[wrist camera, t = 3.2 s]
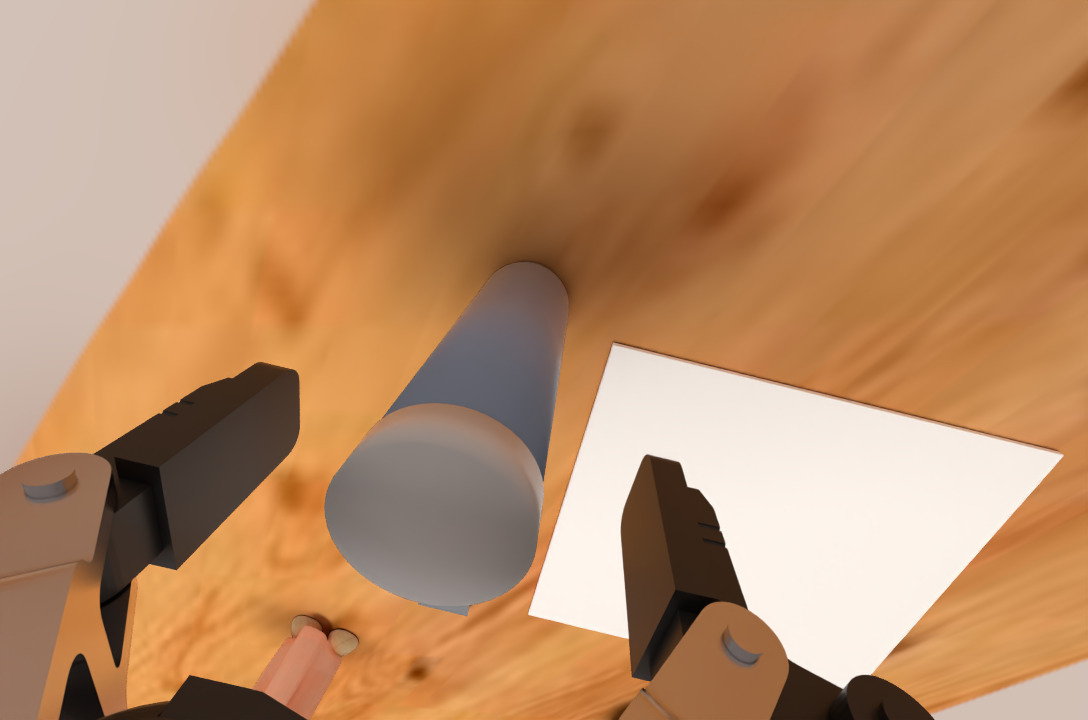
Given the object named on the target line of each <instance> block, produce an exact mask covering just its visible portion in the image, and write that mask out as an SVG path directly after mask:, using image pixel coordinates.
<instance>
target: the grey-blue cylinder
mask: <svg viewBox="0 0 1088 720" xmlns="http://www.w3.org/2000/svg"><path fill="white" fill-rule="evenodd" d="M568 315H569V299H568V294H567V292H566V289H565V287H564V285H563V284H562V282H561V281H560V279H559V278H558V276H557V275H556V274H555V273H554V272H553V271H552V270H551V269H549V268H548V267H546V266H544V265H542V264H540V263H536V262H531V261H523V262H517V263H512V264H509V265H506V266H504V267H502V268H500V269H499V270H497V271H496V272H495V273H494V274H493V275H492V276H491V277H490V278H489V279H488V281H487V282H486V283H485V285H484V286H483V287H482V289H481V290H480V291H479V293H478V294H477V295H476V296H475V298H474V299H473V300H472V302H471V303H470V304H469V306H468V307H467V308H466V309H465V311H464V312H463V313H462V315H461V316H460V317H459V319H458V320H457V321H456V323H455V324H454V325H453V326H452V328H451V329H450V330H449V332H448V333H447V334H446V336H445V337H444V338H443V340H442V341H441V342H440V343H439V345H438V346H437V347H436V349H435V350H434V351H433V353H432V354H431V355H430V357H429V358H428V359H427V360H426V362H425V363H424V364H423V366H422V367H421V368H420V370H419V371H418V372H417V373H416V375H415V376H414V377H413V379H412V380H411V381H410V383H409V384H408V385H407V387H406V388H405V389H404V390H403V392H402V393H401V394H400V396H399V397H398V398H397V400H396V401H395V402H394V404H393V405H392V406H391V407H390V409H389V410H388V411H387V413H386V414H385V415H384V417H383V418H382V419H381V420H379V421H378V422H377V423H376V424H375V425H374V426H373V427H372V428H371V429H370V430H369V432H368V433H367V434H366V436H365V437H364V438H363V439H362V441H361V442H360V443H359V445H358V446H357V447H356V448H355V450H354V451H353V452H352V454H351V455H350V456H349V457H348V459H347V460H346V461H345V463H344V464H343V465H342V466H341V468H340V469H339V470H338V472H337V473H336V474H335V476H334V477H333V479H332V481H331V483H330V485H329V487H328V490H327V493H326V498H325V518H326V523H327V527H328V530H329V532H330V535H331V538H332V540H333V541H334V543H335V545H336V547H337V548H338V550H339V551H340V553H341V554H342V555H343V557H344V558H345V559H346V560H347V561H348V562H349V563H350V565H351V566H352V567H353V568H355V569H356V570H357V571H358V572H359V573H360V574H361V575H363V576H364V577H365V578H367V579H368V580H369V581H371V582H372V583H374V584H376V585H377V586H379V587H381V588H382V589H384V590H386V591H388V592H390V593H392V594H395V595H397V596H400V597H402V598H405V599H408V600H412V601H415V602H419V603H424V604H429V605H436V606H468V605H473V604H479V603H482V602H486V601H489V600H492V599H494V598H496V597H499V596H501V595H503V594H504V593H506V592H508V591H509V590H511V589H512V588H513V587H514V586H516V585H517V584H518V583H519V582H520V581H521V580H522V579H523V577H524V576H525V575H526V573H527V572H528V570H529V569H530V567H531V565H532V562H533V560H534V557H535V552H536V547H537V540H538V533H539V526H540V519H541V512H542V505H543V496H544V487H543V481H544V474H545V468H546V461H547V454H548V448H549V441H550V434H551V428H552V421H553V415H554V408H555V401H556V395H557V388H558V381H559V375H560V368H561V362H562V355H563V348H564V342H565V335H566V328H567V322H568Z"/></svg>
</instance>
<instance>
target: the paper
mask: <svg viewBox="0 0 1088 720" xmlns="http://www.w3.org/2000/svg"><path fill="white" fill-rule="evenodd" d="M647 454H648V455H652V456H657V457H661V458H665V459H669V460H674V461H678V462H680V464H681V466H682V469H683V473H684V476H685V480H686V483H687V487H690V488H695V489H699V490H700V491H701V493H702V494H703V495H704V497H705V498H706V499H707V500H708V502H709V503H710V504H711V505H712V507H713V508H714V511H715V513H716V516H717V519H718V522H719V525H720V531H722V534H723V537H724V540H725V543H726V545H725V548H727V549H728V552H729V555H730V558H731V560H732V563H733V566H734V569H735V572H736V575H737V578H738V581H739V584H740V587H741V590H742V593H743V596H744V599H745V602H746V605H747V608H748V610H749V611H751V612H752V613H754V614H755V615H757V616H758V617H759V618H760V619H762V620H763V621H764V622H765V623H766V624H767V625H768V626H769V627H770V628H771V629H772V631H773V632H774V633H775V634H776V636H777V637H778V639H779V640H780V642H781V643H782V645H783V647H784V649H785V652H786V655H787V658H788V659H789V660H791V661H792V662H794V663H796V664H797V665H799V666H801V667H803V668H804V669H806V670H808V671H810V672H812V673H814V674H816V675H818V676H820V677H821V678H823V679H825V680H827V681H829V682H831V683H833V684H835V685H837V686H838V687H840V688H842V689H844V687H845V686H846V685H847V684H848V683H849V681H850V680H851V679H852V678H854V677H855V676H859V675H871V674H872V673H873V672H874V670H875V669H876V668H877V667H878V666H879V665H880V664H881V662H882V661H883V660H884V659H885V658H886V657H887V656H888V654H889V653H890V652H891V651H892V650H893V649H894V648H895V647H896V645H897V644H898V643H899V642H900V641H901V640H902V639H903V637H904V636H905V635H906V634H907V633H908V632H909V631H910V630H911V628H912V627H913V626H914V625H915V624H916V623H917V622H918V620H919V619H920V618H921V617H922V616H923V615H924V614H925V612H926V611H927V610H928V609H929V608H930V607H931V606H932V605H933V603H934V602H935V601H936V600H937V599H938V598H939V597H940V595H941V594H942V593H943V592H944V591H945V590H946V589H947V588H948V586H949V585H950V584H951V583H952V582H953V581H954V580H955V578H956V577H957V576H958V575H959V574H960V573H961V572H962V571H963V569H964V568H965V567H966V566H967V565H968V564H969V563H970V561H971V560H972V559H973V558H974V557H975V556H976V555H977V553H978V552H979V551H980V550H981V549H982V548H983V547H984V546H985V544H986V543H987V542H988V541H989V540H990V539H991V538H992V536H993V535H994V534H995V533H996V532H997V531H998V530H999V529H1000V527H1001V526H1002V525H1003V524H1004V523H1005V522H1006V521H1007V519H1008V518H1009V517H1010V516H1011V515H1012V514H1013V513H1014V512H1015V510H1016V509H1017V508H1018V507H1019V506H1020V505H1021V504H1022V502H1023V501H1024V500H1025V499H1026V498H1027V497H1028V496H1029V494H1030V493H1031V492H1032V491H1033V490H1034V489H1035V488H1036V487H1037V485H1038V484H1039V483H1040V482H1041V481H1042V480H1043V479H1044V477H1045V476H1046V475H1047V474H1048V473H1049V472H1050V471H1051V470H1052V468H1053V467H1054V466H1055V465H1056V464H1057V463H1058V462H1059V460H1060V459H1061V458H1062V457H1063V456H1064V455H1062V454H1061V453H1060V452H1058V451H1054V450H1050V449H1046V448H1042V447H1038V446H1034V445H1030V444H1026V443H1022V442H1018V441H1014V440H1010V439H1006V438H1001V437H997V436H993V435H989V434H985V433H981V432H977V431H973V430H969V429H965V428H961V427H957V426H952V425H948V424H944V423H940V422H936V421H932V420H928V419H924V418H920V417H916V416H912V415H908V414H903V413H899V412H895V411H891V410H887V409H883V408H879V407H875V406H871V405H867V404H863V403H859V402H855V401H850V400H846V399H842V398H838V397H834V396H830V395H826V394H822V393H818V392H814V391H810V390H806V389H801V388H797V387H793V386H789V385H785V384H781V383H777V382H773V381H769V380H765V379H761V378H757V377H753V376H748V375H744V374H740V373H736V372H732V371H728V370H724V369H720V368H716V367H712V366H708V365H704V364H699V363H695V362H691V361H687V360H683V359H679V358H675V357H671V356H667V355H663V354H659V353H655V352H651V351H646V350H642V349H638V348H634V347H630V346H626V345H622V344H618V343H614V342H613V344H612V347H611V350H610V353H609V356H608V360H607V363H606V366H605V369H604V372H603V376H602V379H601V382H600V385H599V388H598V391H597V395H596V398H595V401H594V404H593V407H592V411H591V414H590V417H589V420H588V423H587V426H586V430H585V433H584V436H583V439H582V442H581V446H580V449H579V452H578V455H577V458H576V461H575V465H574V468H573V471H572V474H571V477H570V481H569V484H568V487H567V490H566V493H565V497H564V500H563V503H562V506H561V509H560V512H559V516H558V519H557V522H556V525H555V528H554V532H553V535H552V538H551V541H550V544H549V547H548V551H547V554H546V557H545V560H544V563H543V567H542V570H541V573H540V576H539V579H538V582H537V586H536V589H535V592H534V595H533V598H532V602H531V605H530V608H529V612H528V615H532V616H536V617H540V618H544V619H548V620H552V621H556V622H561V623H565V624H569V625H573V626H577V627H581V628H585V629H590V630H594V631H598V632H602V633H606V634H610V635H614V636H619V637H623V638H627V639H629V633H628V621H627V608H626V596H625V583H624V570H623V558H622V545H621V519H622V513H623V509H624V506H625V503H626V500H627V498H628V495H629V493H630V490H631V487H632V485H633V482H634V480H635V477H636V474H637V472H638V469H639V467H640V464H641V462H642V459H643V458H644V456H645V455H647Z"/></svg>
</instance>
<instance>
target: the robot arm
mask: <svg viewBox="0 0 1088 720" xmlns="http://www.w3.org/2000/svg"><path fill="white" fill-rule="evenodd" d="M299 429H300V399H299V375H298V373H297V372H296V371H295V370H293V369H288V368H284V367H280V366H276V365H271V364H267V363H263V362H258V363H256V364H254V365H252V366H251V367H249V368H248V369H246V370H245V371H243V372H242V373H240V374H239V375H237V376H236V377H234V378H233V379H232V378H226V379H223V380H220V381H217V382H214V383H211V384H207V385H204V386H201V387H200V388H198V389H197V390H195V391H193V392H192V393H190V394H189V395H187V396H185V397H184V398H182V399H181V401H180V402H179V403H178V402H176V403H174V404H173V405H171V406H169V407H168V408H166V409H165V410H163V413H162V414H159V413H158V414H157V415H155V416H153V417H152V418H150V419H149V420H147V421H145V422H144V423H142V424H141V425H139V426H137V427H136V428H134V429H133V430H131V431H130V432H128V433H126V434H125V435H123V436H122V437H120V438H118V439H117V440H115V441H114V442H112V443H110V444H109V445H107V446H106V447H104V448H102V449H101V450H99V451H98V452H96V453H94V454H88V453H63V454H56V455H50V456H45V457H41V458H37V459H34V460H31V461H28V462H25V463H23V464H20V465H17V466H15V467H13V468H11V469H9V470H7V471H5V472H4V473H2V474H0V720H307V719H306V718H304V717H302V716H301V715H299V714H298V713H296V712H294V711H293V710H291V709H290V708H288V707H286V706H285V705H283V704H282V703H280V702H278V701H277V700H275V699H274V698H272V697H270V696H269V695H267V694H265V693H264V692H262V691H257V690H253V689H248V688H244V687H240V686H235V685H231V684H226V683H222V682H218V681H213V680H209V679H204V678H200V677H196V676H191V675H189V677H188V678H187V679H186V681H185V682H184V683H183V685H182V686H181V687H180V689H179V690H178V691H177V693H176V694H175V695H174V697H173V698H172V699H171V701H165V702H159V703H153V704H148V705H142V706H138V707H134V708H130V709H127V698H126V685H127V673H128V665H129V656H130V648H131V639H132V631H133V623H134V614H135V606H136V597H137V589H138V586H137V579H136V576H137V575H138V574H139V573H140V572H141V571H142V570H143V569H144V568H145V567H146V566H147V565H149V564H152V565H157V566H161V567H165V568H170V569H174V570H177V569H178V568H179V567H180V566H181V565H182V564H183V563H184V562H185V561H186V560H187V559H188V558H189V557H190V556H191V555H192V554H193V553H194V552H195V551H196V550H197V549H198V547H199V546H200V545H201V544H202V543H203V542H204V541H205V540H206V539H207V538H208V537H209V536H210V535H211V534H212V533H213V532H214V531H215V530H216V529H217V528H218V527H219V526H220V525H221V524H222V523H223V522H224V521H225V520H226V519H227V518H228V517H229V515H230V514H231V513H232V512H233V511H234V510H235V509H236V508H237V507H238V506H239V505H240V504H241V503H242V502H243V501H244V500H245V499H246V498H247V497H248V496H249V495H250V494H251V493H252V492H253V491H254V490H255V489H256V488H257V487H258V486H259V485H260V483H261V482H262V481H263V480H264V479H265V478H266V477H267V476H268V475H269V474H270V473H271V472H272V471H273V470H274V469H275V468H276V467H277V466H278V465H279V464H280V463H281V462H282V461H283V460H284V459H285V458H286V457H287V456H288V454H289V453H290V452H291V451H292V449H293V447H294V445H295V443H296V441H297V438H298V435H299ZM621 545H622V558H623V570H624V583H625V596H626V608H627V621H628V633H629V646H630V659H631V671H632V677H634V678H638V679H642V680H647V681H651V682H650V684H649V685H648V687H647V688H646V689H644V688H643V689H641V690H640V691H639V693H638V694H637V695H636V696H635V698H634V699H633V700H632V702H631V703H630V704H629V706H628V707H627V708H626V710H625V711H624V713H623V714H622V715H621V717H620V718H619V719H618V720H934V719H933V717H932V716H931V715H930V714H929V713H928V712H927V711H926V710H925V709H924V708H923V707H922V706H921V705H920V704H919V703H918V702H917V701H916V700H915V699H914V698H912V697H911V696H910V695H909V694H907V693H906V692H905V691H903V690H902V689H900V688H899V687H897V686H895V685H894V684H892V683H890V682H888V681H886V680H884V679H881V678H879V677H876V676H871V675H859V676H855V677H854V678H852V679H851V680H850V681H849V683H848V684H847V685H846V686H845V687H844V689H842V688H840V687H838V686H837V685H835V684H833V683H831V682H829V681H827V680H825V679H823V678H821V677H820V676H818V675H816V674H814V673H812V672H810V671H808V670H806V669H804V668H803V667H801V666H799V665H797V664H796V663H794V662H792V661H791V660H789V659H788V658H787V655H786V652H785V649H784V647H783V645H782V643H781V642H780V640H779V639H778V637H777V636H776V634H775V633H774V632H773V631H772V629H771V628H770V627H769V626H768V625H767V624H766V623H765V622H764V621H763V620H762V619H760V618H759V617H758V616H757V615H755V614H754V613H752V612H751V611H749V610H748V608H747V605H746V602H745V599H744V596H743V593H742V590H741V587H740V584H739V581H738V578H737V575H736V572H735V569H734V566H733V563H732V560H731V558H730V555H729V552H728V549H727V548H725V545H726V543H725V540H724V537H723V534H722V531H720V525H719V522H718V519H717V516H716V513H715V511H714V508H713V507H712V505H711V504H710V503H709V502H708V500H707V499H706V498H705V497H704V495H703V494H702V493H701V491H700V490H699V489H695V488H690V487H687V483H686V480H685V476H684V473H683V469H682V466H681V464H680V462H678V461H674V460H669V459H665V458H661V457H657V456H652V455H648V454H647V455H645V456H644V458H643V459H642V462H641V464H640V467H639V469H638V472H637V474H636V477H635V480H634V482H633V485H632V487H631V490H630V493H629V495H628V498H627V500H626V503H625V506H624V509H623V513H622V519H621Z"/></svg>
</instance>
